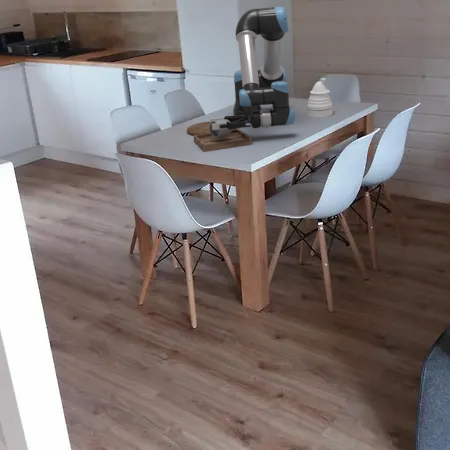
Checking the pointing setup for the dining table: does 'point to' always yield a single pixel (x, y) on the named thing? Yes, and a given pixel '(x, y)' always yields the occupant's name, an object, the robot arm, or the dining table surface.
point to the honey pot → (319, 101)
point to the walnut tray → (222, 140)
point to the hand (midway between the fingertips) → (211, 124)
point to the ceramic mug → (221, 131)
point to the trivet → (199, 128)
